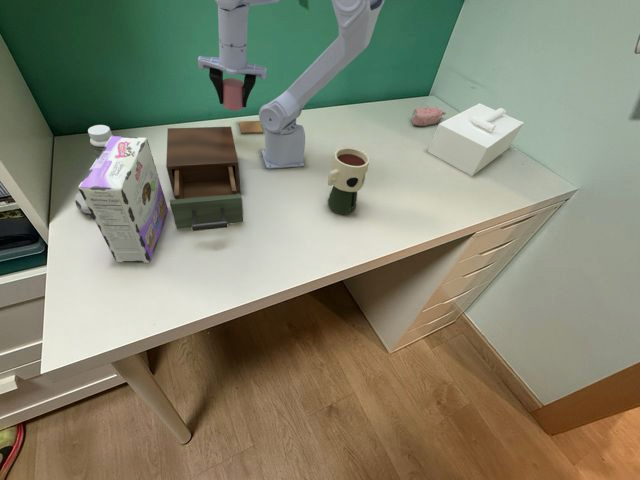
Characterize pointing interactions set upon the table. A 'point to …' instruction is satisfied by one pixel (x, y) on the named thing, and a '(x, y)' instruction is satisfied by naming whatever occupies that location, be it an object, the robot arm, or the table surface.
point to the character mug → (346, 178)
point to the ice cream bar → (426, 116)
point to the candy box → (126, 198)
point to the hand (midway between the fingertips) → (233, 103)
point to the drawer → (206, 198)
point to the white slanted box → (474, 137)
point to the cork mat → (250, 127)
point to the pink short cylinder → (233, 94)
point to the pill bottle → (99, 137)
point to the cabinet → (201, 150)
